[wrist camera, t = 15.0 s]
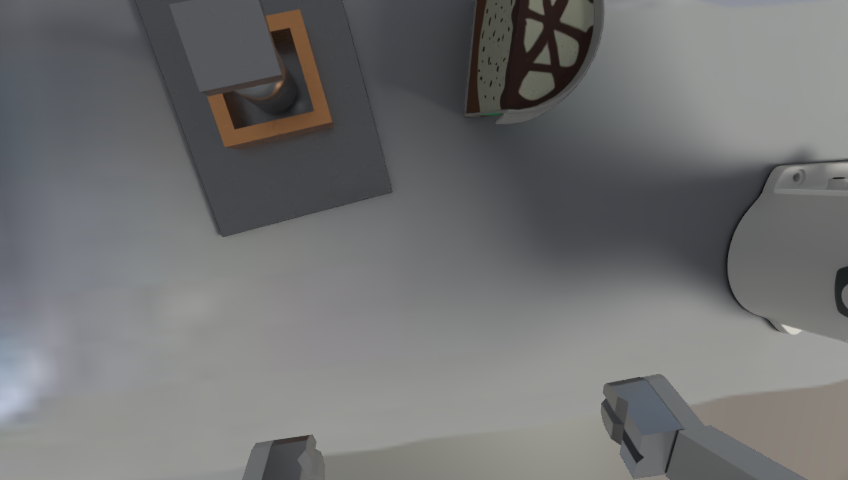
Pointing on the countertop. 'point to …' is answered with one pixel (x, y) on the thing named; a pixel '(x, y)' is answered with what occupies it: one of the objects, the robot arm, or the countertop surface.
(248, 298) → the countertop surface
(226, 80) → the square-headed pin
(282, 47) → the grey base plate
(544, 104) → the food container
